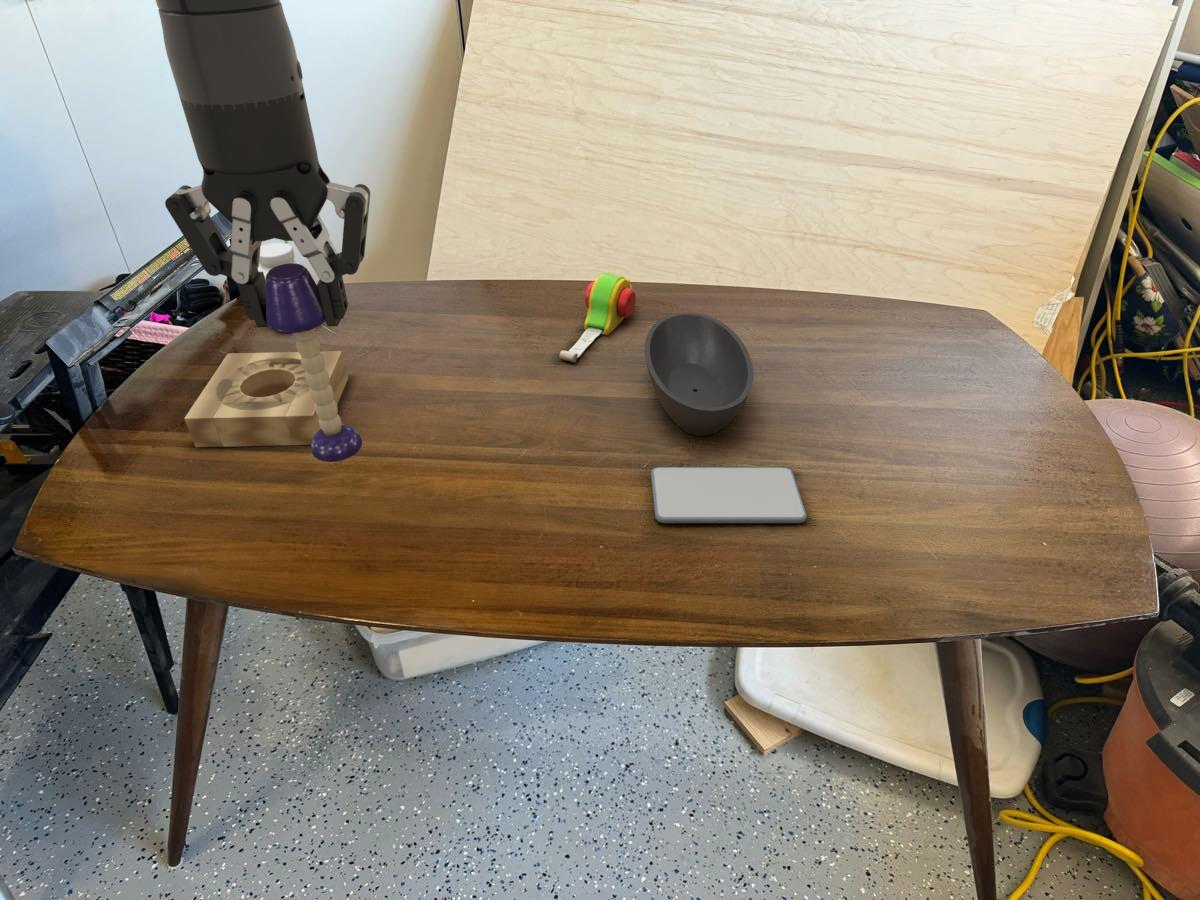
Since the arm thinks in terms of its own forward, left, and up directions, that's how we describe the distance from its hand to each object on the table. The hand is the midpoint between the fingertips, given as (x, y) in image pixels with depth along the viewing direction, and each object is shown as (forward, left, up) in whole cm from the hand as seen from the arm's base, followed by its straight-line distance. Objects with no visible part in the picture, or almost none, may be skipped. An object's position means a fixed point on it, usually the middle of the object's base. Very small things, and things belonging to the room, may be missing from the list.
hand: (301, 321), depth 61 cm
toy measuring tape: (+24, +42, -25) cm, 54 cm away
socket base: (-15, +24, -24) cm, 37 cm away
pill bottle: (-19, +46, -25) cm, 55 cm away
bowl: (+35, +24, -25) cm, 49 cm away
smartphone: (+36, +6, -24) cm, 44 cm away
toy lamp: (0, 0, -13) cm, 13 cm away
